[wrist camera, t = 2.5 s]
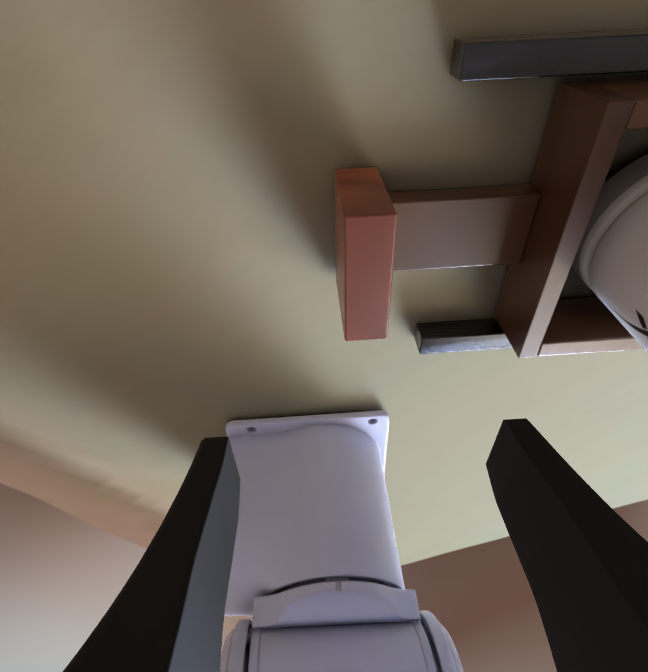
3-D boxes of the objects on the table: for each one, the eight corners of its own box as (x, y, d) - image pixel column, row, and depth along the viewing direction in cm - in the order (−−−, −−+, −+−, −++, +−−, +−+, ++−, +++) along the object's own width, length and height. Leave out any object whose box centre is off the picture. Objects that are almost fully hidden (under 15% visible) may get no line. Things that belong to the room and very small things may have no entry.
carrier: (337, 325, 21) (345, 387, 18) (332, 92, 14) (343, 126, 11) (707, 301, 21) (777, 358, 18) (866, 63, 15) (1016, 89, 12)
